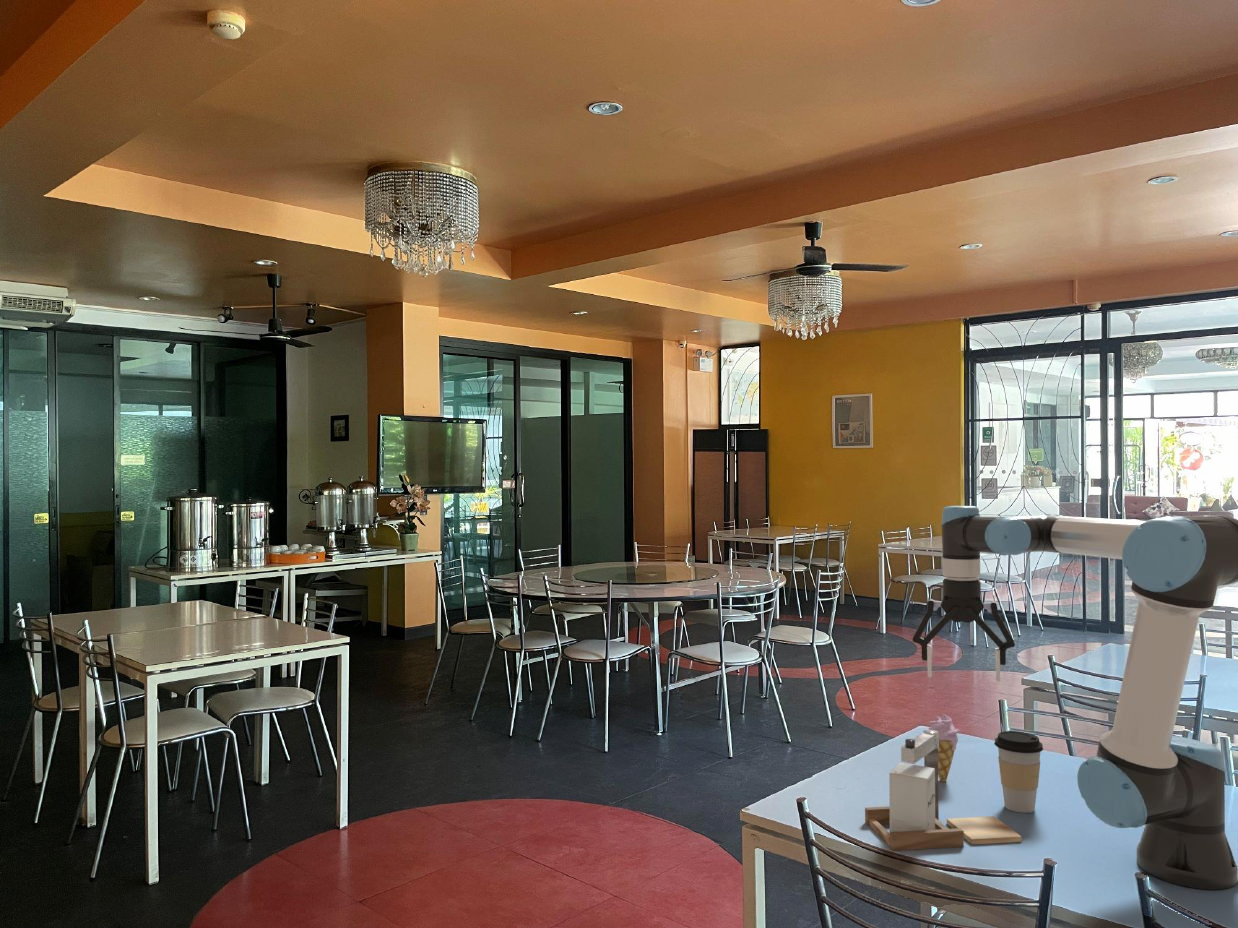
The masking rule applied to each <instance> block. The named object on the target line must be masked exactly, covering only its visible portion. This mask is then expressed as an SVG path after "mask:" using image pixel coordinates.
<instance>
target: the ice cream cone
mask: <svg viewBox="0 0 1238 928" xmlns="http://www.w3.org/2000/svg"><path fill="white" fill-rule="evenodd" d="M935 719H936V720H930V721H929V722H928V723H929V727H928V728H927V730H935V731H938V732H939V748H937V749H938V780H939V782H941V783H942V782H943V783H945V782H947V780H948V776H949V773H950V769H951V766H952V762H953V758H954V755H955V750H957V744H958V741H959V737H958V735H957V733H959V732H961V729H959V728H956V727H955V726H954V724H953V719H952V718H951V716H949V715H946V714H944V713H942V715H941V717H939V716H935Z"/></svg>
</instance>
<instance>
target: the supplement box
mask: <svg viewBox="0 0 1238 928" xmlns="http://www.w3.org/2000/svg"><path fill="white" fill-rule="evenodd" d="M888 777H889V779H888V780H889V806H890V824H889V833H890V832H901V831H920V830H936V829H935V768H930V767H924V766H922V765H916V764H911V763H905V762H898V763H897V764H896V766H894V767H893V769H892V770H891V771H890V772H889V776H888Z"/></svg>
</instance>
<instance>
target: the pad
mask: <svg viewBox="0 0 1238 928" xmlns="http://www.w3.org/2000/svg"><path fill="white" fill-rule="evenodd" d="M946 825H948V826H949V827H950V829H956V828H961V829H962V830H963V831H964V840H966V841H967V842H968V843H969V844H970V845H989V844H1003V843H1004V844H1005V843H1008V844H1009V843H1021V842H1022V835H1020V834H1019V833H1018V832H1016V831H1015V830H1013V829H1012V828H1011V827H1009V826H1008V825H1006V824H1005V823H1003V822H1002V821H1001V820H1000V819H998V818H997V817H995V816H994V815H991V816H990V815H989V816H974V817H973V816H971V817H969V816H968V817H955V818H954V817H953V818H952V817H951V818H946Z"/></svg>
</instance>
